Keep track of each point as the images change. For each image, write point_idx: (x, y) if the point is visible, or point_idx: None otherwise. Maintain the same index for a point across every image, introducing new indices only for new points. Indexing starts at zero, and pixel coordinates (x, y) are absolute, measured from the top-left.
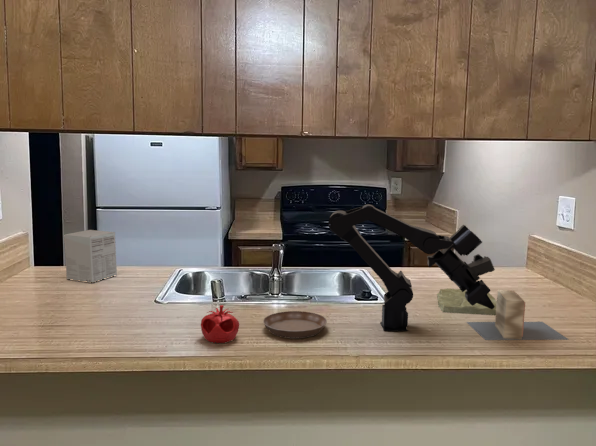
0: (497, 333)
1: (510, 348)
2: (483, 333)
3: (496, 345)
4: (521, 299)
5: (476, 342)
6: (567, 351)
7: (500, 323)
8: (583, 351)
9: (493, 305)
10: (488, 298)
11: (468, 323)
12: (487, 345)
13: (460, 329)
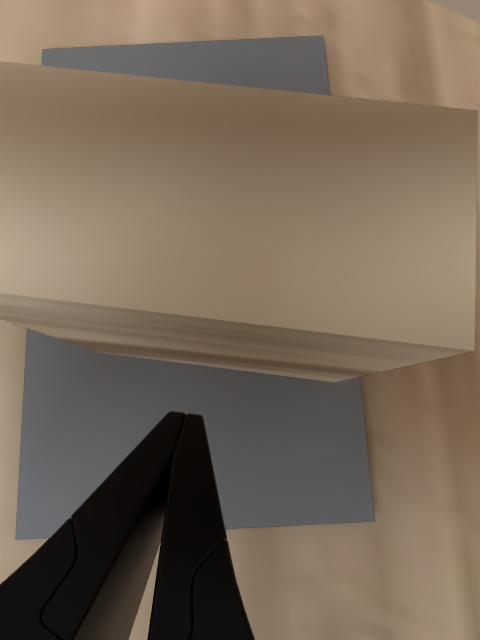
0: (249, 391)
1: (465, 392)
2: (253, 490)
3: (426, 462)
4: (404, 119)
5: (387, 585)
6: (465, 108)
7: (230, 363)
8: (453, 38)
9: (205, 435)
10: (228, 550)
11: (49, 534)
12: (433, 524)
13: (138, 622)
